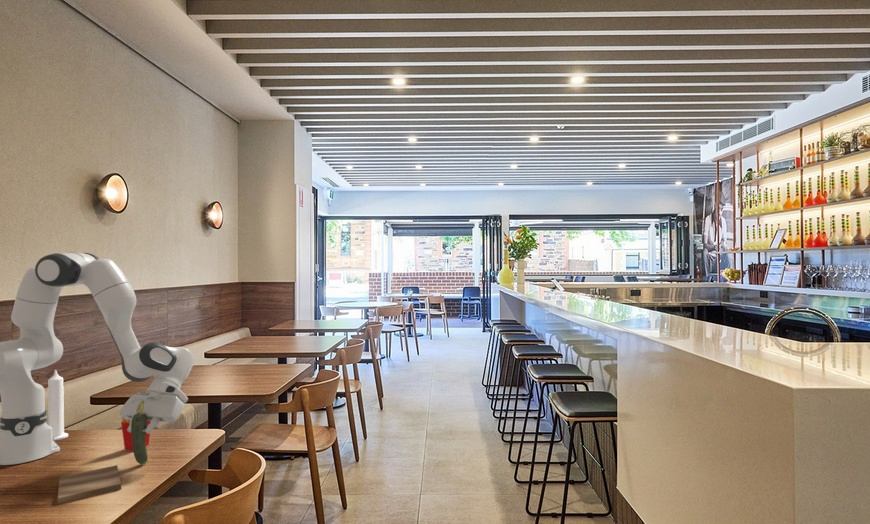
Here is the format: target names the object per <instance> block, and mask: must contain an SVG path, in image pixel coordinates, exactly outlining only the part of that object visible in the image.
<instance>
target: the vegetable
mask: <svg viewBox="0 0 870 524" xmlns="http://www.w3.org/2000/svg"><path fill="white" fill-rule="evenodd" d="M143 410H144V400H142V401H141V402H140V403H139V405H138V407H137V410H136V412H137V413H136V414H135V415H134V416H133V418H132V421H131V432H132V442H133V451H132V452H133V455H134V459H135V461H136V463H138V464H139V465H140V466H143V465H146V464H147V463H148V451H147V447H146V443H145V433H144V432H143V429H144V427H145V426H147V416H146V414H145V413H143Z"/></svg>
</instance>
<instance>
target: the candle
mask: <svg viewBox="0 0 870 524" xmlns="http://www.w3.org/2000/svg"><path fill="white" fill-rule="evenodd" d="M57 370H58V369H54V372H53V374H52V376H51V377H50V378H48V379H47V390H48V391H47V393H48V394H47V396H48V400H47V401H48V408H47V410H48V412H47V413H48V425H49V426H50V427H52V437H54V440H53V441H54V442H55V441H59V440H63V439H66V438H69V433H68V432H65V406H64V404H65V403H64V401H65V400H64V399H65V396H64V395H65V394H64V391H65V389H64V387H65V386H64V377H63V376H60V375H59V374H58V371H57Z"/></svg>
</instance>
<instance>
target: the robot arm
mask: <svg viewBox="0 0 870 524" xmlns="http://www.w3.org/2000/svg"><path fill="white" fill-rule="evenodd" d="M79 285H83V286H86V287H87V289H88V290H89V291H90V293H91V295H92V297H93V299H94V301H95V303H96V304H97V306H98V308H99V310H100V312H101V314H102V316H103V319H104V321H105V324H106V326H107V329H108V332H109V334H110V336H111V338H112V340H113V342H114V345H115V346H116V350H117V351H118V353H119V356H120V360H121V369H122V374H123V375H124V376H125V377H126V379H128V380H129V381H131V382H136V383H143V382H145V381H147V380H149V379H151V378H152V377H153V379H152V381H151V383H150V384H149V386H148V387H147V389H146V391H138V392H136V393H134V394H132V396H130V397H129V398H128V400H126V402H125V403H124V404H123V406H122V407H121V408H120V409H119V416H121V418H122V417H123V418H124V419H130V425H129V427H128V429H127V431H128V432H131V421H132V418H133V416H134V415H135V414H136V413H137V412H136V410H137V407H138V405H139V403H140V402H141V401H142V400H144V410H143V413H145V414H146V416H147V421H151V423H150V424H149V425H148V426H145V427H144V429H143V432H144V433H146V434H149V433H150V434H151V432H152V430H153V429H154V428H156V427H157V426H158V425H159V424H160V423H161V422H162V423H163V422H166V423H175V422H176V421H177V420H178V419H179V418H180V416H181V414H182V412H183V411H184V408H185V404H186V403H187V402H188V401H189V398H188V396H187V395H186V394H185V392H183V391H182V390H181V387H182V384H183V383H184V382H185V381H186V380H187V378H188V376H189V375H190V373H191V371H192V368H193V367H194V363H195V356H194V353H192V352H191V351H190V349H188V348H186V347H183V346H176V347H175V346H167V345H164V344H163V343H159V342H156V341H155V342H154V341H153V342H152V341H151V342H148V343H146V344H144V345H143V346H141V345H140V343H139V341H138V339H137V336H136V335H135V333H134V330H133V327H132V318H133V317H132V316H133V314H134V311H135V308H136V305H137V296H136V293H135V290H134V288H133V286H132V284H131V283H130V281H129V279H128V277H127V276H126V275H125V273H124V272H123V271H122V269H121V268H120V267H119V266H118V264H117V263H115V262H114V260H112V259H109V258H100V257H98V256H97V255H95V254H92V253H89V252H75V251H73V252H72V251H68V252H61V253H59V252H58V253H50V254H47V255H44V256H43V257H40V259H38V261H37V262H36V265H35V266H31V267H29V268H28V269H27V270H26V271H25V273H24V275H23V277H22V280H21V281H20V282H19V286H18V289H17V292H16V296H15V299H14V304H13V307H12V311H11V315H10V320H11V322H12V324H13V325H15V326H17V327H18V328H19V331H20V335H19V337H18V339H11V340H7V341H6V340H5V341H0V404H1V417H0V466H8V465H9V466H11V465H18V464H24V463H27V462H28V463H29V462H32V461H36V460H38V459H42V458H45V457H47V456H49V455H51V454H56V453H57V452H60V451H61V447H60V446H59V445H58V444H57V443H56V442H55V441H53V440H54V437H52V427H50V426H49V423H47V422H48V412H47V410H46V397H45V396H46V395H45V392H46V391H45V388H44V386H43V384H39V383H38V382H36V381H34V379H33V377H32V373H31V371H34V370H39V369H43V368H47V367H48V366H51V365H53V364H55V363H57V362H58V361H60V360H61V358H62V357H63V354H64V346H63V343H62V341H61V340H60V339H59V338H58V337H56V334H55V330H54V319H55V316H56V311H57V306H58V302H59V298H60V294H61V291H62V289H63V288H64V287H75V286H79ZM131 433H132V432H131Z"/></svg>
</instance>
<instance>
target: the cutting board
mask: <svg viewBox="0 0 870 524" xmlns="http://www.w3.org/2000/svg"><path fill="white" fill-rule="evenodd" d="M58 479H59V481H58V491H57V505H60V504H65V503H68V502H73V501H77V500H82V499H85V498H89V497H94V496H98V495H102V494H106V493H111V492H114V491H119V490H122V482H121V477H120V472H119V466H118V464H116V465H112V466H107V467H100V468H97V469H93V470H87V471H81V472H78V473H74V474H73V473H72V474H69V475H68V474H67V475H63V476H60V477H59V478H58Z"/></svg>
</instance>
